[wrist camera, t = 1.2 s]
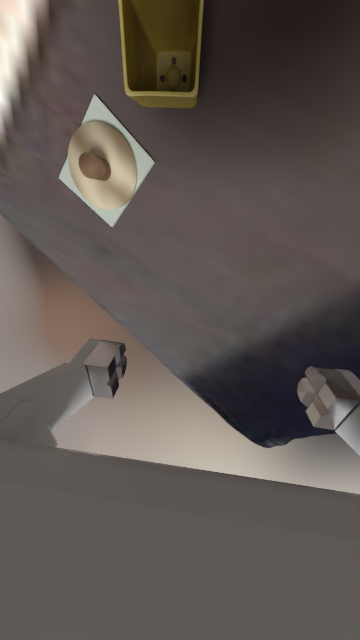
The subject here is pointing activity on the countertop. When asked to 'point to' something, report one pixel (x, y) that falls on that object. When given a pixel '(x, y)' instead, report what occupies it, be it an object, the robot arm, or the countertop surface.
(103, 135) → the lid
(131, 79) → the flower pot
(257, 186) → the countertop surface
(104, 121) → the mat
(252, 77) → the countertop surface
